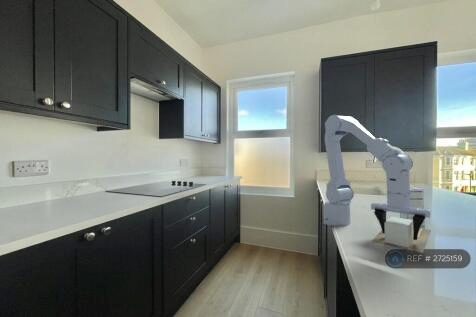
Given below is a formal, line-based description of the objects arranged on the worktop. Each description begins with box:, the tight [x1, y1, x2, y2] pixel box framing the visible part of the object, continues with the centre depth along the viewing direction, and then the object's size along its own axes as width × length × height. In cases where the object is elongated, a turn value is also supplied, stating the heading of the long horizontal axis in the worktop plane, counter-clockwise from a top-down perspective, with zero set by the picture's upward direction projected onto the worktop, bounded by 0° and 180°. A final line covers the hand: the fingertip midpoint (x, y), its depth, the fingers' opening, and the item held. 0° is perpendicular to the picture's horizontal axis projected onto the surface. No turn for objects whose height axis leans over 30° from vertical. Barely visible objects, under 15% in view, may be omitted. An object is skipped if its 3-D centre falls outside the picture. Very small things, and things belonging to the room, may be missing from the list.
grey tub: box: [385, 216, 413, 248], centre depth 64 cm, size 6×9×6 cm, turn 132°
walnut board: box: [371, 227, 432, 254], centre depth 68 cm, size 12×24×1 cm, turn 132°
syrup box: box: [399, 186, 426, 228], centre depth 81 cm, size 6×6×14 cm
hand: (399, 235), depth 64 cm, fingers open, 7 cm apart
